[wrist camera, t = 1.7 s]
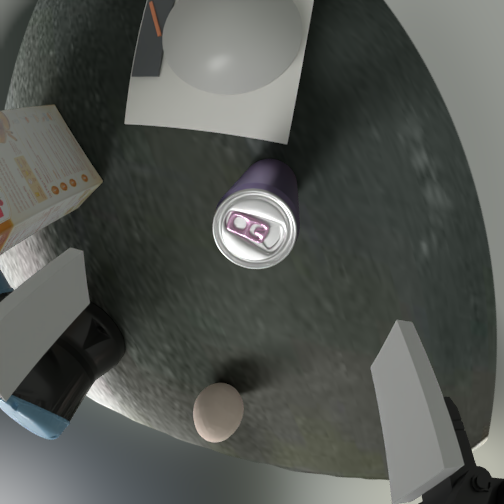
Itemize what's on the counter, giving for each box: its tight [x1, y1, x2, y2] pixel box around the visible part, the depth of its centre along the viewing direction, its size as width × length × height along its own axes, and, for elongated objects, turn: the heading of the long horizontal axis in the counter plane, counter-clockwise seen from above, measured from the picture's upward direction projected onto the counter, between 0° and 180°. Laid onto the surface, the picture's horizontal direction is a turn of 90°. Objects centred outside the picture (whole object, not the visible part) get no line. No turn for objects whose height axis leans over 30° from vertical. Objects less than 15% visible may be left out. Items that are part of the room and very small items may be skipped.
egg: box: [193, 383, 244, 442], centre depth 43 cm, size 8×8×11 cm
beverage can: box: [212, 159, 300, 269], centre depth 26 cm, size 6×6×15 cm
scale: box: [124, 0, 314, 144], centre depth 25 cm, size 18×22×4 cm
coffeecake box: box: [0, 105, 103, 255], centre depth 26 cm, size 15×7×20 cm, turn 34°
